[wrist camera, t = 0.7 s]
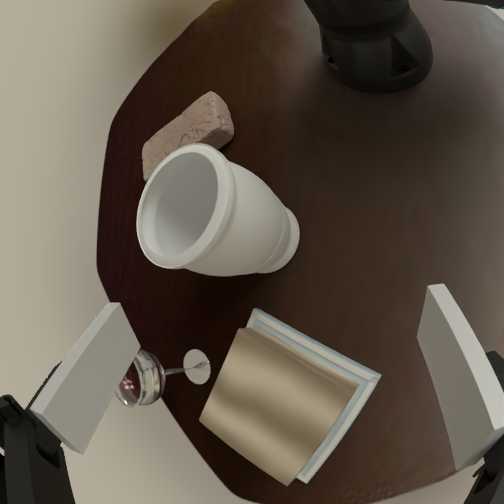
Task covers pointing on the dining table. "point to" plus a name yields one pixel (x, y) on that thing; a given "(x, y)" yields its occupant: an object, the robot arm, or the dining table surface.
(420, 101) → the dining table surface
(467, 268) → the dining table surface
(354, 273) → the dining table surface
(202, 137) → the brick
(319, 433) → the plinth
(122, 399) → the wineglass
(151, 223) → the jar
